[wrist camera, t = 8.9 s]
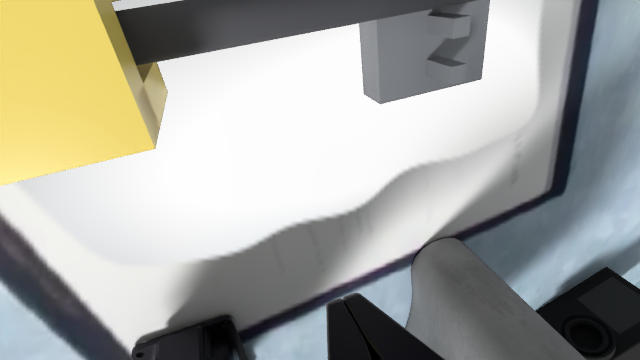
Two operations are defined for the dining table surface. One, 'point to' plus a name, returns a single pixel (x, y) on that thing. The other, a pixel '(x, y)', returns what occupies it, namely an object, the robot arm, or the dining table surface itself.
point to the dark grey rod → (245, 22)
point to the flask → (475, 310)
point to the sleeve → (71, 89)
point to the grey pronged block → (423, 50)
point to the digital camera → (599, 317)
